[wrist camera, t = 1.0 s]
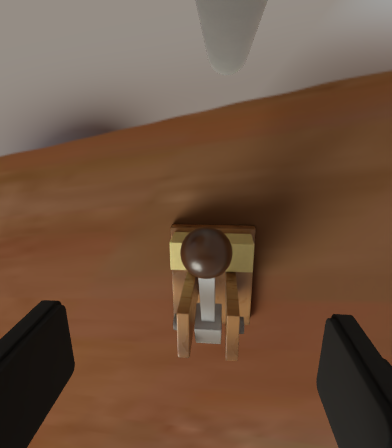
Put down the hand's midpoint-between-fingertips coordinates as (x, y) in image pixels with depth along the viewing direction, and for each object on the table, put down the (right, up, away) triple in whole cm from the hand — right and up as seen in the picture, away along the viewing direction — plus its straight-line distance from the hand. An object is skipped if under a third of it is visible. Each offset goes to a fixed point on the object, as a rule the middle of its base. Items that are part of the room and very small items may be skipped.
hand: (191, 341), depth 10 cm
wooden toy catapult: (+2, -2, +23) cm, 23 cm away
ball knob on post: (+1, 0, +12) cm, 12 cm away
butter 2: (+4, +2, +21) cm, 21 cm away
